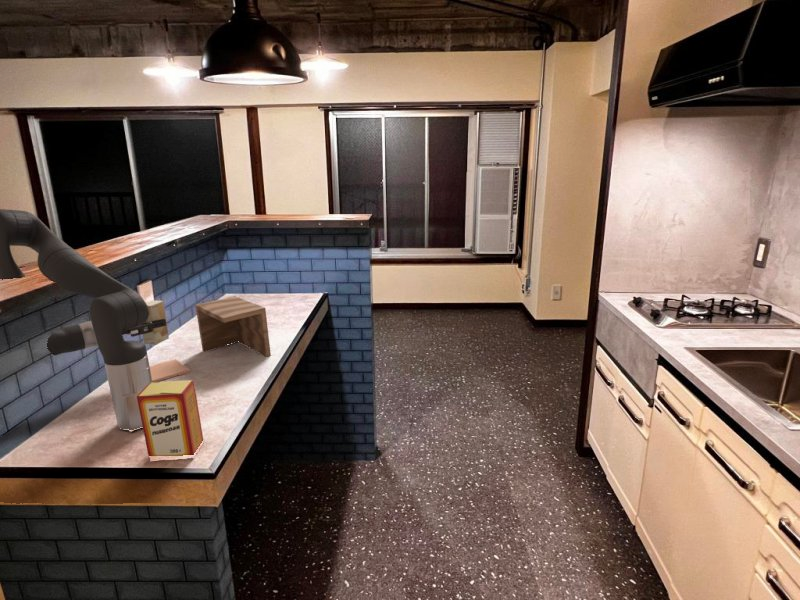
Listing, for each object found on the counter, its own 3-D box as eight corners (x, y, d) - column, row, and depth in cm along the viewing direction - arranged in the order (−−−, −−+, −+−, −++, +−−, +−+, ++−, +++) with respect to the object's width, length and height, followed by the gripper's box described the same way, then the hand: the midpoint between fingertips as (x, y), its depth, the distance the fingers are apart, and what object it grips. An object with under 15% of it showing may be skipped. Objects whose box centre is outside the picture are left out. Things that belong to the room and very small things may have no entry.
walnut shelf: (270, 355, 164) (265, 307, 160) (230, 368, 155) (223, 318, 151) (240, 340, 180) (234, 296, 175) (202, 350, 171) (195, 304, 166)
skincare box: (156, 345, 148) (149, 306, 144) (143, 344, 149) (136, 305, 145) (170, 338, 154) (164, 300, 150) (157, 337, 155) (151, 299, 151)
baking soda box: (149, 461, 107) (136, 394, 103) (161, 445, 114) (149, 381, 109) (194, 459, 108) (182, 391, 103) (203, 442, 114) (193, 378, 110)
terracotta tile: (189, 371, 154) (189, 369, 153) (148, 384, 146) (148, 381, 146) (175, 361, 162) (175, 359, 162) (136, 372, 154) (135, 370, 154)
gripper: (104, 325, 134) (167, 312, 145) (91, 314, 144) (151, 303, 155) (109, 351, 136) (171, 336, 147) (96, 339, 146) (155, 325, 157)
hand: (161, 319), depth 151 cm, fingers closed on skincare box, 7 cm apart
